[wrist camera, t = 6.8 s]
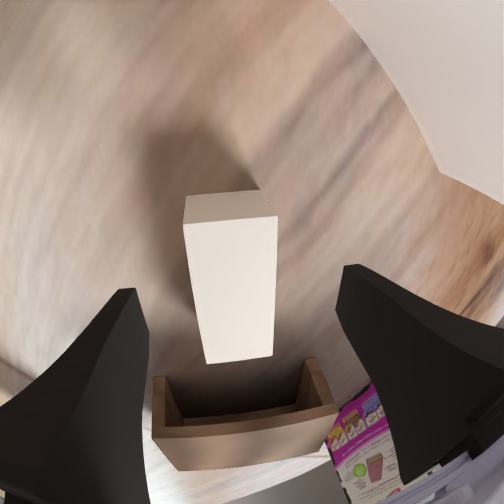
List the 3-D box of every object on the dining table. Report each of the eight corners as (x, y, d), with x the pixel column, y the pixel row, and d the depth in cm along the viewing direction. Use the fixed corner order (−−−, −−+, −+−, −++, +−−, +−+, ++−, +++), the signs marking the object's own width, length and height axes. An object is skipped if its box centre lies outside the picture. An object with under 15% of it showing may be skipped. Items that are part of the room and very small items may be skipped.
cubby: (175, 422, 26) (178, 471, 21) (153, 376, 21) (151, 438, 16) (302, 406, 28) (318, 451, 23) (315, 357, 23) (339, 412, 18)
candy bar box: (341, 425, 34) (379, 518, 20) (317, 425, 32) (354, 529, 18) (399, 377, 30) (455, 478, 16) (377, 375, 28) (438, 491, 14)
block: (203, 320, 19) (206, 364, 16) (186, 194, 15) (182, 224, 12) (259, 313, 20) (272, 355, 17) (259, 188, 16) (277, 216, 12)
